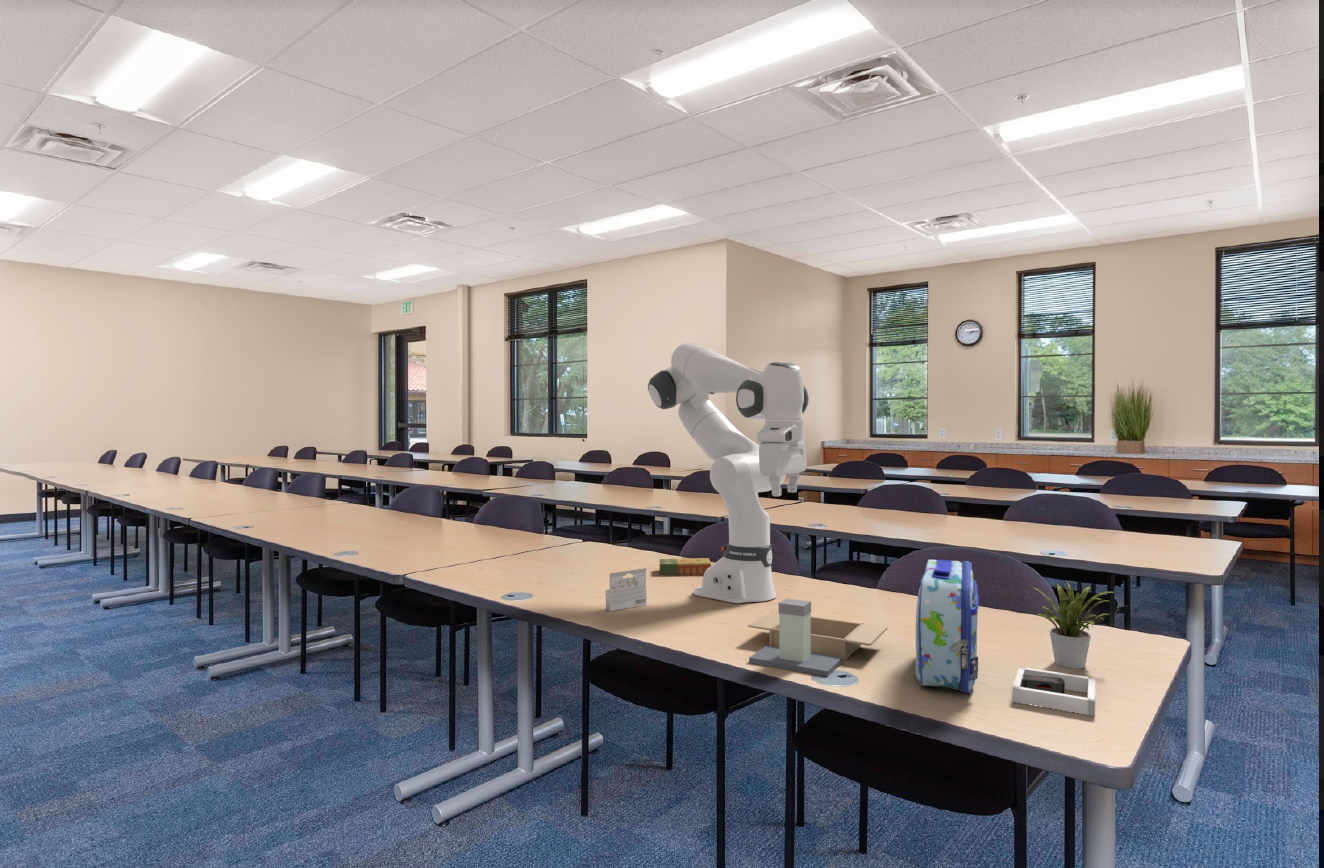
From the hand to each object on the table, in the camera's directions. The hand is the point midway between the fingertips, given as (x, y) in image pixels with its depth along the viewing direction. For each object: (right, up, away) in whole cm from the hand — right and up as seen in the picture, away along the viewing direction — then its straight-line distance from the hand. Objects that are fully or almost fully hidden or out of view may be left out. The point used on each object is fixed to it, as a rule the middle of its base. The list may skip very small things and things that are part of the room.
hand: (784, 494), depth 166 cm
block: (-2, -31, -22) cm, 37 cm away
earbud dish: (+40, -32, -40) cm, 65 cm away
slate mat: (-1, -32, -22) cm, 38 cm away
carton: (-21, -31, +64) cm, 74 cm away
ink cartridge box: (-37, -31, +22) cm, 53 cm away
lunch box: (+26, -32, -29) cm, 50 cm away
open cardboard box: (+5, -31, -10) cm, 33 cm away
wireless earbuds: (+37, -32, -40) cm, 64 cm away
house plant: (+53, -31, -25) cm, 66 cm away
